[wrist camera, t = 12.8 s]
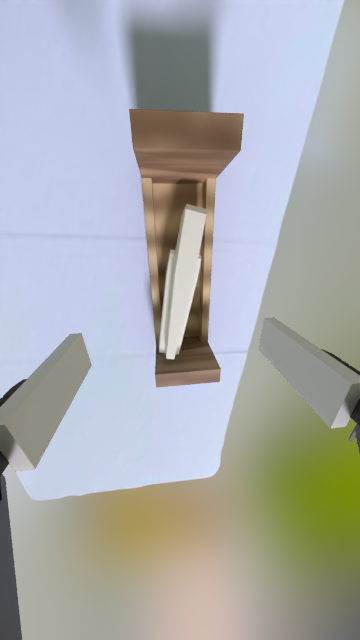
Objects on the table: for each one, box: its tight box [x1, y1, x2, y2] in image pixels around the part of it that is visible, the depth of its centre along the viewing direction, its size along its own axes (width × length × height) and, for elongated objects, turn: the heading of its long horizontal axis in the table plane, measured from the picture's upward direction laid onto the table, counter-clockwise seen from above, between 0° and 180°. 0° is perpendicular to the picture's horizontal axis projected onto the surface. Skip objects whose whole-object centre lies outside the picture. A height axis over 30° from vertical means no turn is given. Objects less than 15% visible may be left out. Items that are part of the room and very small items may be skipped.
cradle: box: [129, 109, 244, 387], centre depth 32 cm, size 37×12×14 cm, turn 1°
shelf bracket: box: [159, 204, 207, 359], centre depth 35 cm, size 6×25×13 cm, turn 168°
